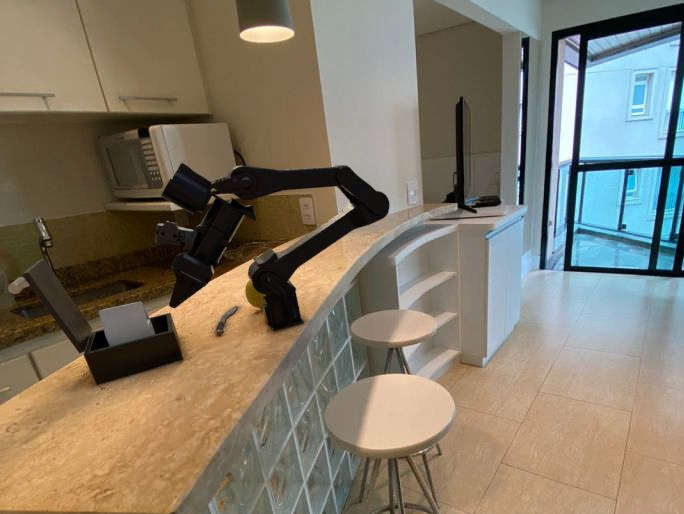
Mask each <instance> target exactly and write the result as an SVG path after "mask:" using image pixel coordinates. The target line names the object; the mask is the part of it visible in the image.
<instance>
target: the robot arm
mask: <svg viewBox="0 0 684 514" xmlns="http://www.w3.org/2000/svg"><path fill="white" fill-rule="evenodd" d="M331 187H332V188H333V187H336V188H337V189H338V190H339V191H340V192H341V193H342V194H343V196H344V197H345V198H346V199H347V200H348V201H347V203H346V204H345V206H344V207H343V208H342V209H341V211H340V212H339V213H338V214H336V215H334V216H333V217H332V218H330V219H329V220H327V221H325V222H324V223H323V224H321V225H319V226H318V227H317V228H315V229H314V230H312V231H311V232H309V233H308V234H306V235H305V236H303V237H302V238H300V239H299V240H297V241H295V242H294V243H293V244H291V245H290V246H288V247H286V248H285V249H283V250H281V251H277V252H275V250H273V249H272V248H271V247H269V248H267V249H266V250H265V251H264V252H263V253H262V254H260V255H259V256H254V257H253V262H252V263H250V265H249V266H248V270H247V276H248V279H249V280H250V281H251V283H252V285H253V287H254V288H255V290H257V291H258V292H259V293H261V294H266V296H263V301H264V304H262V313H263V318H264V323H265V324H266V325H267V326H268V327H270V328H271V330H272V331H274V332H276V331H280V330H283V329H287V328H290V327H294V326H297V325H300V324H303V323H305V320H304V318H303V317H302V316H301V315H302V314H301V310H300V306H299V301H298V296H297V288H296V286H295V285H294V284H293V283H292V281H291V280H290V279H291V278H292V277H293V275H294V274H295V272H297V270H298V269H299V268H300V267H302V266H303V265H305V263H308V262H309V261H310V260H311V259H313V258H315V257H316V256H318V255H319V254H320V253H322V252H323V251H324V250H326V249H328V248H329V247H331V246H332V245H334V244H335V243H336V242H338V241H339V240H341V239H342V238H344V237H346V236H347V235H348V234H350V233H351V232H352V231H354V230H357V229H360V228H363V227H367V226H369V225H370V226H371V225H372V224H375V223H377V222H379V221H381V220H384V219H385V218H386V217H387V216H388V215H389V213H390V200H389V197H388V196H387V194H385V192H383V191H379V190H376V189H375V188H374V187H373V186H372V185H371V184H369V183H368V182H367V181H366V180H364V179H363V178H361V177H360V176H359V175H358V174H357V173H356V172H355V171H354V170H353V169H352V168H351V167H350V166H349V165H346V164H337V165H334V166H326V167H325V166H324V167H308V168H292V169H290V168H288V169H274V168H267V167H259V166H251V165H237V166H234V167H233V168H232V167H231V169H230V171H228V173H227V176H223V177H221V178H219V179H217V178H214V180H212V181H211V180H209V179H207V178H205V177H204V176H203V175H201V174H199V173H197V172H196V171H194V170H193V169H192V168H191V167H190V166H188V165H186V163H184V162H181V163H180V164H179V165H178V167H177V170H176V171H175V173H174V174H173V176H172V177H169V180H168V182H167V184H166V185H165V187H164V189H163V191H162V193H161V194H160V197H161V198H163V199H165V200H166V201H168V202H169V203H171V204H174V205H176V206H177V207H179V208H181V209H183V210H184V211H186V212H187V213H190V214H191V215H194V214H195V213H196V212H198V213H200V214H202V213H203V212H204V211H205V210H206V207H207V206H208V204H209V202H210V200H211V198H212V197H213V198H214V199H213V201H212V203H211V205H209V208H208V210H207V211H206V213H205V215H204V217H203V218H202V221H201V222H200V224H198V225H196V226H195V227H194V229H191V228H186V227H182V226H179V225H178V223H177V222H170V221H169V220H166V221H165V222H164V223H156V229H155V230H154V234H155V235H154V237H155V238H154V243H156V244H160V245H164V244H166V245H172V246H177V247H183V248H182V249H181V250H182V251H183V252H179V253H177V254H176V255H175V257H174V259H173V261H172V262H171V264H170V267H171V271H172V273H173V274H174V276H175V282H174V286H173V290H172V293H171V296H170V300H169V303H168V307H170V308H171V309H176V308H178V307H179V306H180V305H182V304H183V303H185V302H186V301H188V300H189V299H190V298H191V297H193V296H194V295H195V294H197V293H198V292H200V291H201V290H202V289H204V288H205V287H206V286H207V285H208V284H209V283H210V282H211V280H212V278H213V276H214V274H215V270H216V269H217V267H218V266H219V265H218V264H219V262H220V260H221V258H222V256H223V255H224V253H225V251H226V250H227V248H228V247H229V245H230V242H231V241H232V240H233V237H234V235H235V234H236V232H237V230H238V229H239V227H240V225H241V223H242V222H243V220H244V218H245V217H246V218H248V219H249V220H251V221H253V222H256V221H257V216H256V214H255V209H254V208H255V206H254V205H252V204H249V205H245V204H243V203H241V202H240V201H238V200H237V199H236V198H234V197H230V198H229V200H228V201H227V200H226V199H224V198H222V197H221V196H220V195H217V194H216V193H214V192H213V191H212V190H213V189H214V190H215V191H216V192H218V193H219V194H222V195H234V196H235V197H237V198H239V199H241V200H244V201H252V200H256V199H259V198H263V197H268V196H270V195H272V194H276V193H279V192H283V191H293V190H295V191H296V190H308V189H318V188H319V189H320V188H331Z"/></svg>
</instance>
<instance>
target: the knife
mask: <svg viewBox="0 0 684 514" xmlns="http://www.w3.org/2000/svg"><path fill="white" fill-rule="evenodd" d="M238 308H239V306H238V305H234V306H233V307H232V308H230V309H229V310H227V311H226V312H225V313H224V314H223V315H222V316H221V317H220V320H219V321H218V323H217V325H216V328H215V333H216V335H222V334H224V333H225V331H224V325H226V324H227V322H226V320H227V318H228V317H229V316H231V315H232V314H234V313H235V311H237V309H238Z"/></svg>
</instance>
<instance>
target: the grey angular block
mask: <svg viewBox="0 0 684 514" xmlns="http://www.w3.org/2000/svg"><path fill="white" fill-rule="evenodd" d="M97 313H98V315H99V318H100V321H101V325H102V329H104V332H105V336H106V338H107V341H108V343H109V346H114V345H118V344H122V343H125V342H129V341H133V340H137V339H141V338H144V337H148V336H152V335H155V332H154V329H153V326H152V323H151V321H150V318H151V317H150V316H149V314H148V312H147V310H146V308H145V305H144V303H143V301H142V300H140V301H136V302H132V303H127V304H122V305H118V306H113V307H108V308H103V309H99V310H98V311H97Z"/></svg>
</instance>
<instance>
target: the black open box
mask: <svg viewBox="0 0 684 514" xmlns="http://www.w3.org/2000/svg"><path fill="white" fill-rule="evenodd" d="M149 318H150V321H151V323H152V326H153V329H154V332H155V335H152V336H148V337H144V338H141V339H137V340H133V341H129V342H125V343H122V344H118V345H114V346H109V343H108V341H107V338H106V336H105V332H104V329H103V328H102V329H98V330H94V331H91V334H90V337H89V340H88V343H87V346H86V349H85V351H84V352H83V357H84V360H85V362H86V365H87V367H88V369H89V371H90V374H91V375H92V378H93V380H94V382H95V384H96V386H99V385H103V384H106V383H109V382H112V381H116V380H120V379H122V378H123V379H124V378H127V377H130V376H133V375H137V374H140V373H143V372H147V371H150V370H153V369H157V368H160V367H164V366H167V365H171V364H173V363H177V362H181V361H184V355H183V350H182V345H181V340H180V337H179V334H178V331H177V328H176V325H175V321H174V319H173V316H172V313H171V312H168V313H164V314H159V315H154V316H150V317H149Z"/></svg>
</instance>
